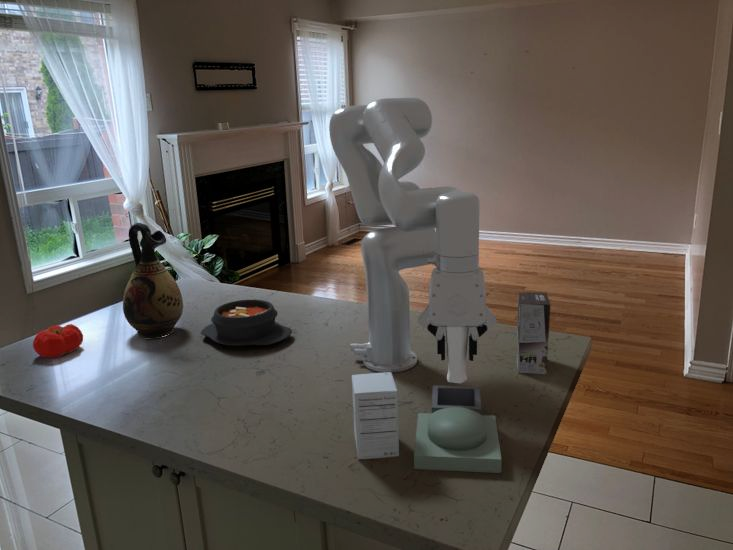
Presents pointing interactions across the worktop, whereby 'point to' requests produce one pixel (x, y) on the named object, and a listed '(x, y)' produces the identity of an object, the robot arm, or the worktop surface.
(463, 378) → the perfume bottle
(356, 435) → the supplement box
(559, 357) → the worktop surface
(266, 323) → the casserole
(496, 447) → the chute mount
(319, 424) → the worktop surface
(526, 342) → the coffee box
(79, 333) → the tomato
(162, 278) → the ceramic jug
